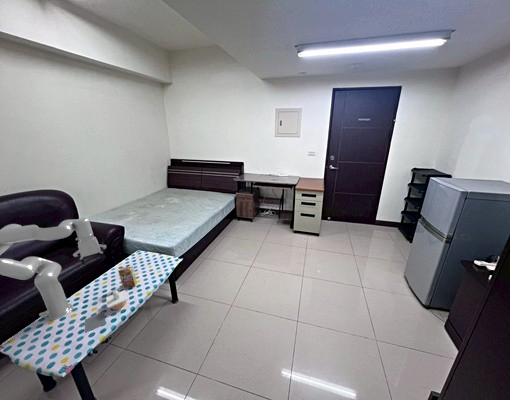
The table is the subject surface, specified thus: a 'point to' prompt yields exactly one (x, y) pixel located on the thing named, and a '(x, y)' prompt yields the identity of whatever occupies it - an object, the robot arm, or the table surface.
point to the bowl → (118, 305)
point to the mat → (94, 322)
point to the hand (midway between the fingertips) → (93, 261)
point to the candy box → (127, 277)
